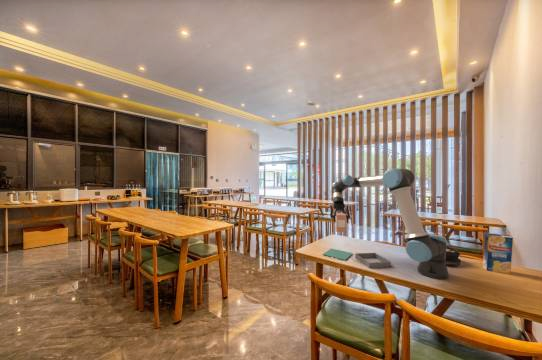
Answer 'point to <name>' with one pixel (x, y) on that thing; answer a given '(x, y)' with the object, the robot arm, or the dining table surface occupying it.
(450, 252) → the casserole
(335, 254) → the mat
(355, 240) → the dining table surface
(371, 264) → the bin
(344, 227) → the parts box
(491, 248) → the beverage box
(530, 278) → the dining table surface
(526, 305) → the dining table surface
